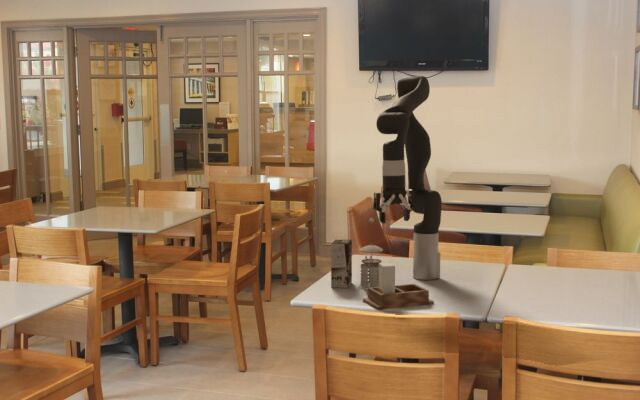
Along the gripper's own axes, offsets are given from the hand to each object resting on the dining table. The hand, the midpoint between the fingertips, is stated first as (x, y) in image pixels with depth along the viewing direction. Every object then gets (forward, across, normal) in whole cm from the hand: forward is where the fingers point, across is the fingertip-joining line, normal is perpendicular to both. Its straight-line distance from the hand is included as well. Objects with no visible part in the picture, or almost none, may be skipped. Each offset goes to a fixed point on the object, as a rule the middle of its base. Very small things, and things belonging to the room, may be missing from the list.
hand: (394, 221), depth 254 cm
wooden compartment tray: (+26, +2, +6) cm, 27 cm away
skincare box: (+25, +6, +6) cm, 26 cm away
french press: (+26, +2, -16) cm, 31 cm away
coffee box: (+26, +10, -24) cm, 37 cm away
